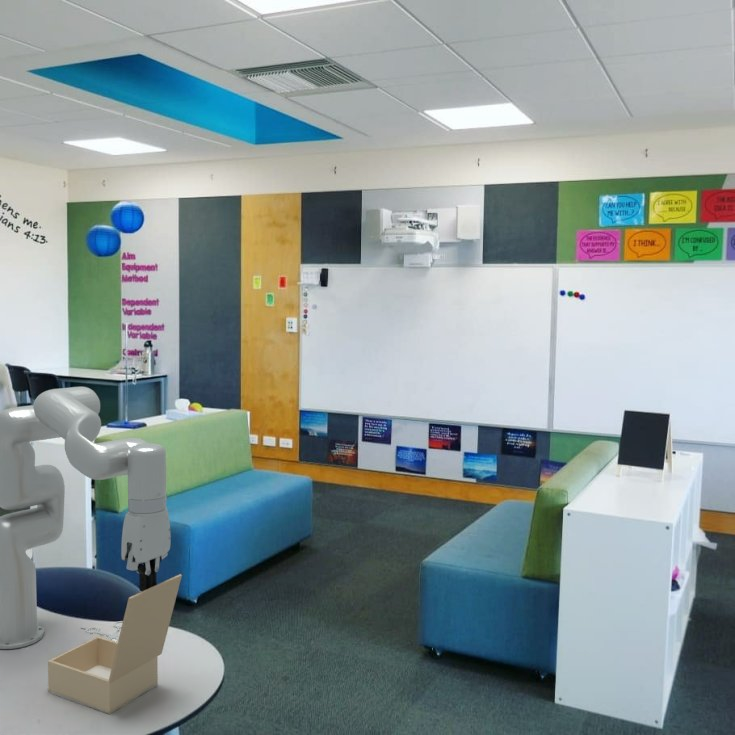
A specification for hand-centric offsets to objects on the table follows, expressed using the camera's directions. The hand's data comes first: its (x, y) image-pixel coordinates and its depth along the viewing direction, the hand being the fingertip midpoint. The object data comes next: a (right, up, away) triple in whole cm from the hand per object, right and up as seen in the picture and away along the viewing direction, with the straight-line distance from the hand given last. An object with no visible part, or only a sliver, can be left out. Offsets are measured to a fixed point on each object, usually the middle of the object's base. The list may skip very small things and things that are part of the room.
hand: (148, 590), depth 162 cm
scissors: (-18, -22, +33) cm, 44 cm away
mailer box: (-12, -24, +8) cm, 28 cm away
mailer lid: (-1, -8, +1) cm, 8 cm away
